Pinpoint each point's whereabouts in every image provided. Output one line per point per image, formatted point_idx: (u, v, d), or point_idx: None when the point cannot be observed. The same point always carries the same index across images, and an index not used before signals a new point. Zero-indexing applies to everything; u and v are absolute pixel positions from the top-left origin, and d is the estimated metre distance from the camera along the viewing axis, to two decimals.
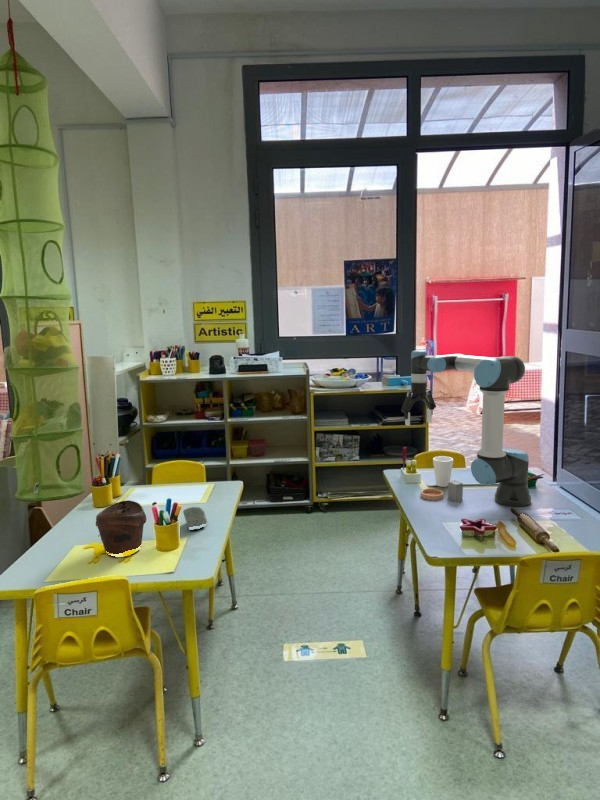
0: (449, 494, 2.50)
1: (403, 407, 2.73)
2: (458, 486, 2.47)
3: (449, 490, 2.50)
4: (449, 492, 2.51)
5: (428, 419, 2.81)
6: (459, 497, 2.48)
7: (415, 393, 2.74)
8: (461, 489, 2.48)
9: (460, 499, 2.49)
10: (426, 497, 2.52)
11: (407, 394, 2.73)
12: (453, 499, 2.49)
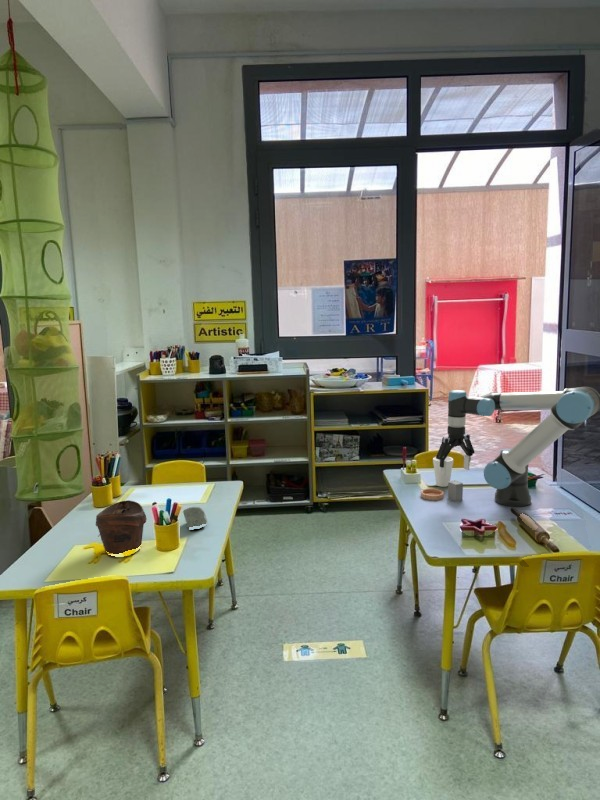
0: (449, 494, 2.50)
1: (439, 454, 2.43)
2: (458, 486, 2.47)
3: (449, 490, 2.50)
4: (449, 492, 2.51)
5: (465, 466, 2.51)
6: (459, 497, 2.48)
7: (452, 438, 2.43)
8: (461, 489, 2.48)
9: (460, 499, 2.49)
10: (426, 497, 2.52)
11: (443, 439, 2.43)
12: (453, 499, 2.49)
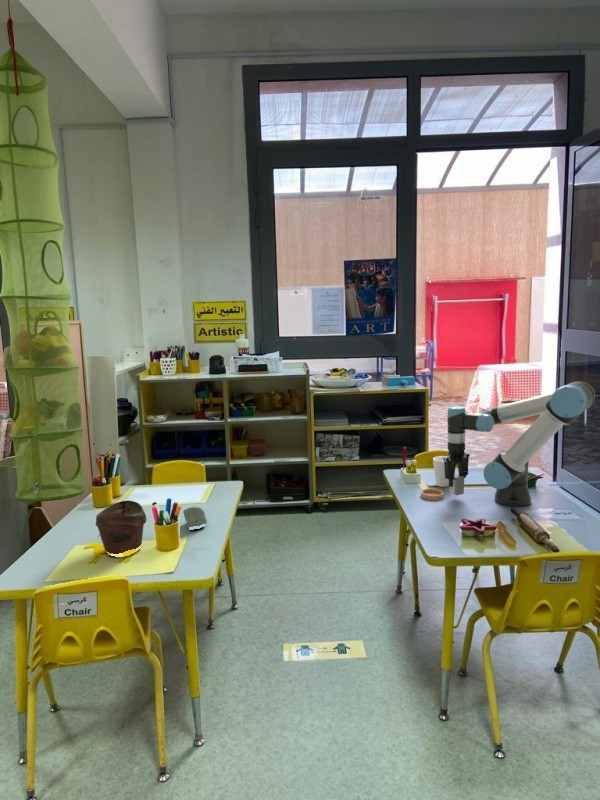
0: None
1: (446, 474, 2.46)
2: (459, 479, 2.46)
3: None
4: None
5: None
6: (460, 491, 2.47)
7: (453, 455, 2.45)
8: (462, 482, 2.47)
9: (462, 492, 2.48)
10: (426, 497, 2.52)
11: (445, 460, 2.44)
12: None
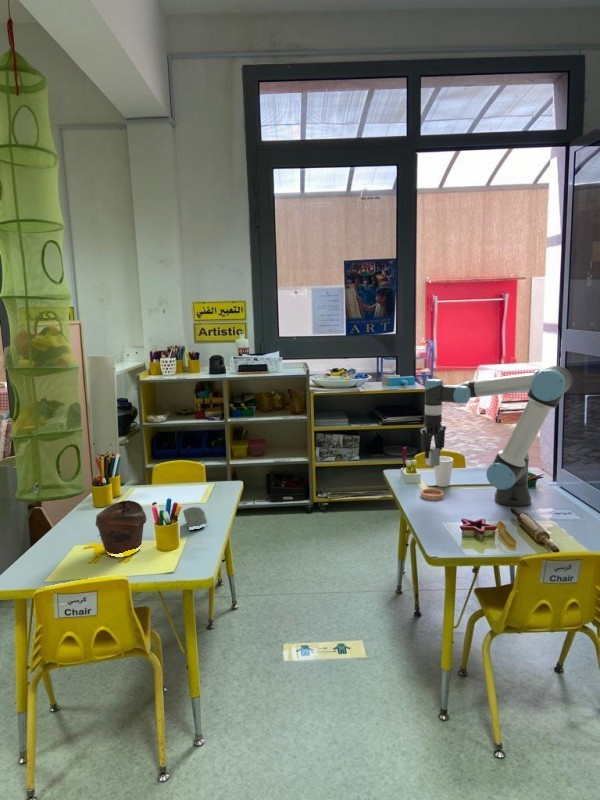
0: None
1: (422, 446, 2.49)
2: (435, 451, 2.49)
3: None
4: None
5: None
6: (435, 462, 2.50)
7: (429, 426, 2.47)
8: (438, 454, 2.50)
9: (437, 464, 2.51)
10: (426, 497, 2.52)
11: (421, 431, 2.47)
12: None
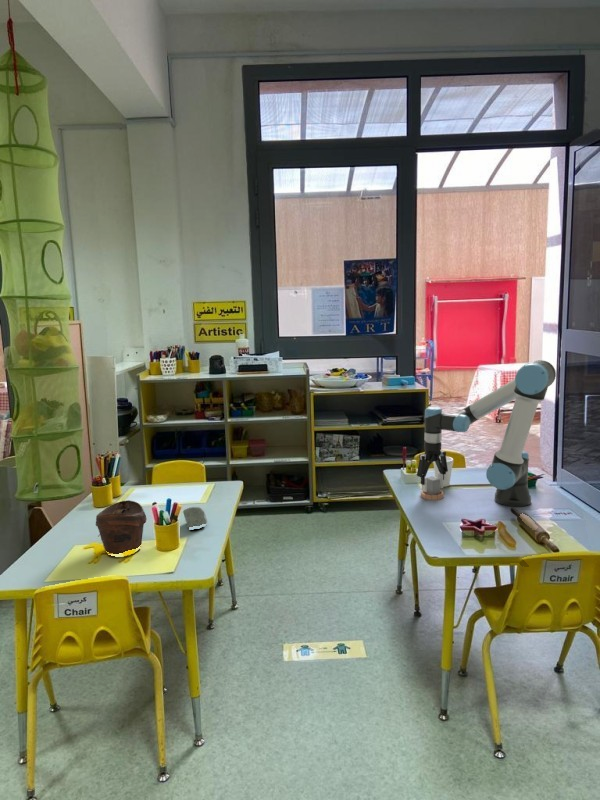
0: (427, 489, 2.55)
1: (419, 472, 2.50)
2: (435, 482, 2.52)
3: None
4: None
5: None
6: (435, 493, 2.53)
7: (429, 454, 2.50)
8: (438, 485, 2.53)
9: (437, 494, 2.54)
10: (426, 497, 2.52)
11: (420, 457, 2.49)
12: None
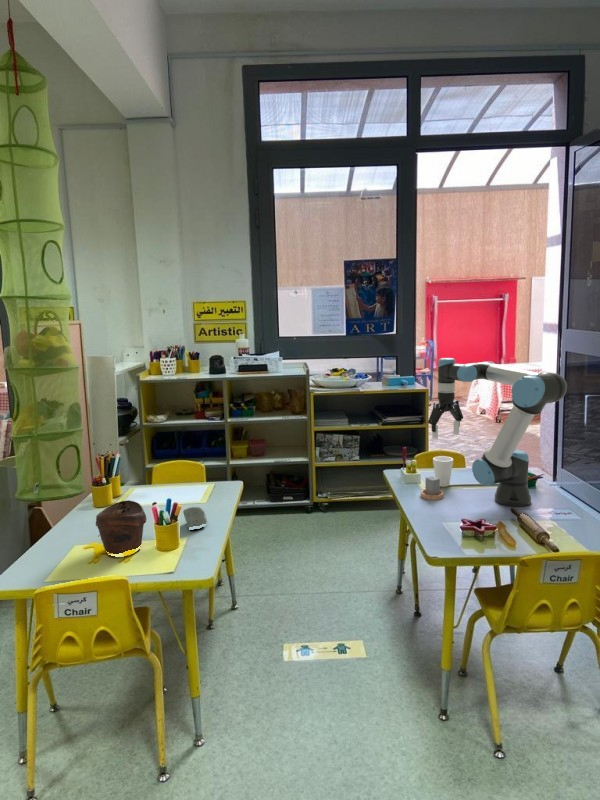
0: (427, 489, 2.55)
1: (431, 419, 2.55)
2: (435, 482, 2.52)
3: (426, 486, 2.55)
4: (426, 488, 2.55)
5: (455, 431, 2.64)
6: (435, 493, 2.53)
7: (443, 404, 2.56)
8: (438, 485, 2.53)
9: (437, 494, 2.54)
10: (426, 497, 2.52)
11: (434, 405, 2.55)
12: None
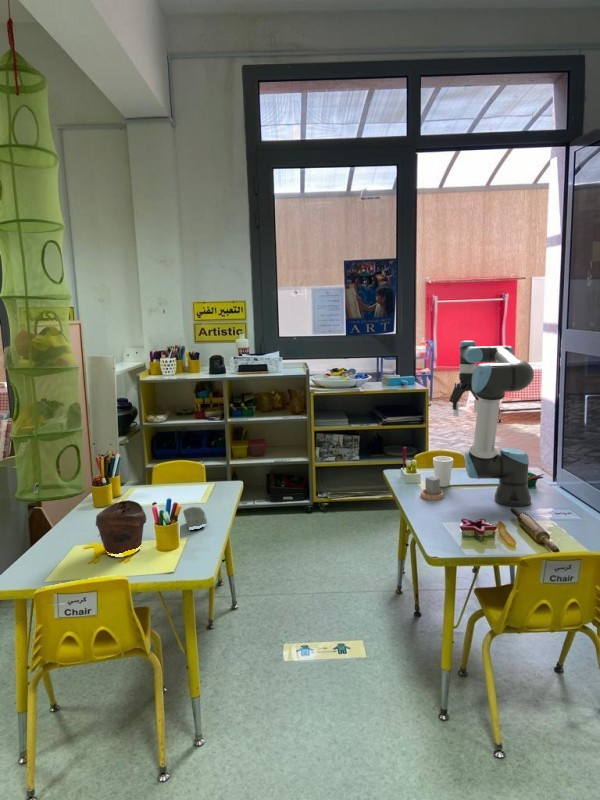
0: (427, 489, 2.55)
1: (452, 397, 2.72)
2: (435, 482, 2.52)
3: (426, 486, 2.55)
4: (426, 488, 2.55)
5: (475, 410, 2.81)
6: (435, 493, 2.53)
7: (464, 383, 2.73)
8: (438, 485, 2.53)
9: (437, 494, 2.54)
10: (426, 497, 2.52)
11: (456, 384, 2.73)
12: None
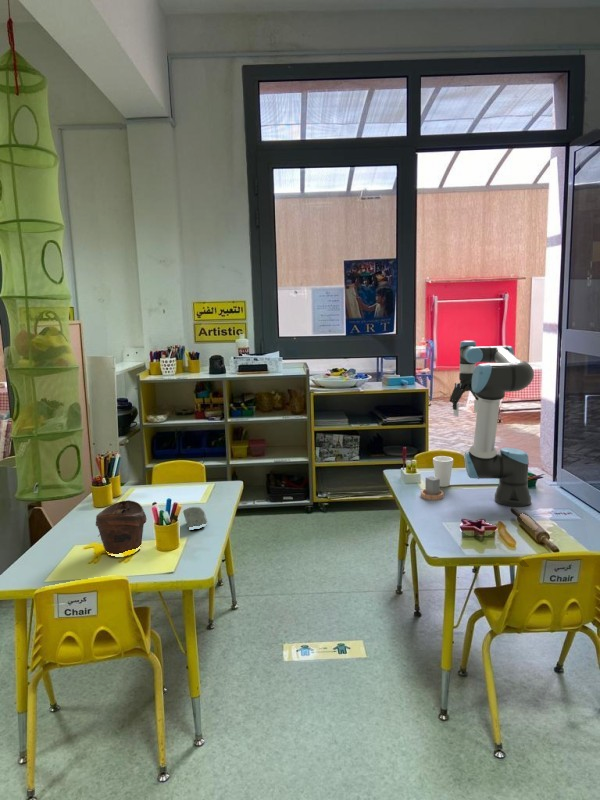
0: (427, 489, 2.55)
1: (452, 397, 2.72)
2: (435, 482, 2.52)
3: (426, 486, 2.55)
4: (426, 488, 2.55)
5: (475, 410, 2.81)
6: (435, 493, 2.53)
7: (464, 383, 2.73)
8: (438, 485, 2.53)
9: (437, 494, 2.54)
10: (426, 497, 2.52)
11: (456, 384, 2.73)
12: None
